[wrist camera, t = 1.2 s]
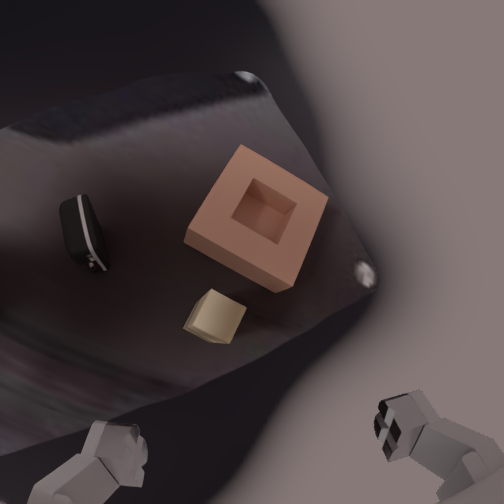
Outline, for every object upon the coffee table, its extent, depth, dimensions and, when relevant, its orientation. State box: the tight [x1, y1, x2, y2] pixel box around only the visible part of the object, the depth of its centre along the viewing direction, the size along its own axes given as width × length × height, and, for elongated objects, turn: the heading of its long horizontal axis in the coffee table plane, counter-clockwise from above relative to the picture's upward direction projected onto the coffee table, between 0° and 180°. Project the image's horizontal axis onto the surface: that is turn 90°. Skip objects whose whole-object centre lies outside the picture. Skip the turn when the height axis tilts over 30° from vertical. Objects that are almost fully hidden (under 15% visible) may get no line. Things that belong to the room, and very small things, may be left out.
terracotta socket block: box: [184, 145, 329, 293], centre depth 44 cm, size 15×15×6 cm
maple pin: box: [183, 289, 246, 344], centre depth 35 cm, size 4×4×12 cm
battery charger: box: [59, 194, 110, 272], centre depth 34 cm, size 7×4×11 cm, turn 22°
